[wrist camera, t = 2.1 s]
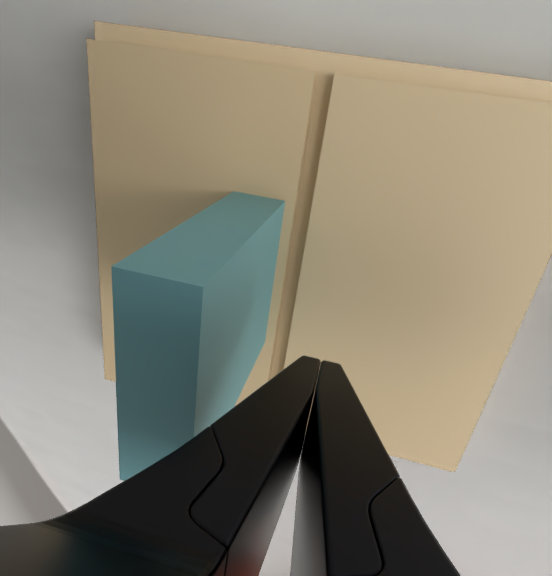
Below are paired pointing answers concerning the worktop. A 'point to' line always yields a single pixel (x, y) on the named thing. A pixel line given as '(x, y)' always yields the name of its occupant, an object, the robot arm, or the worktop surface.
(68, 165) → the worktop surface
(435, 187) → the carton
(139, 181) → the flap
